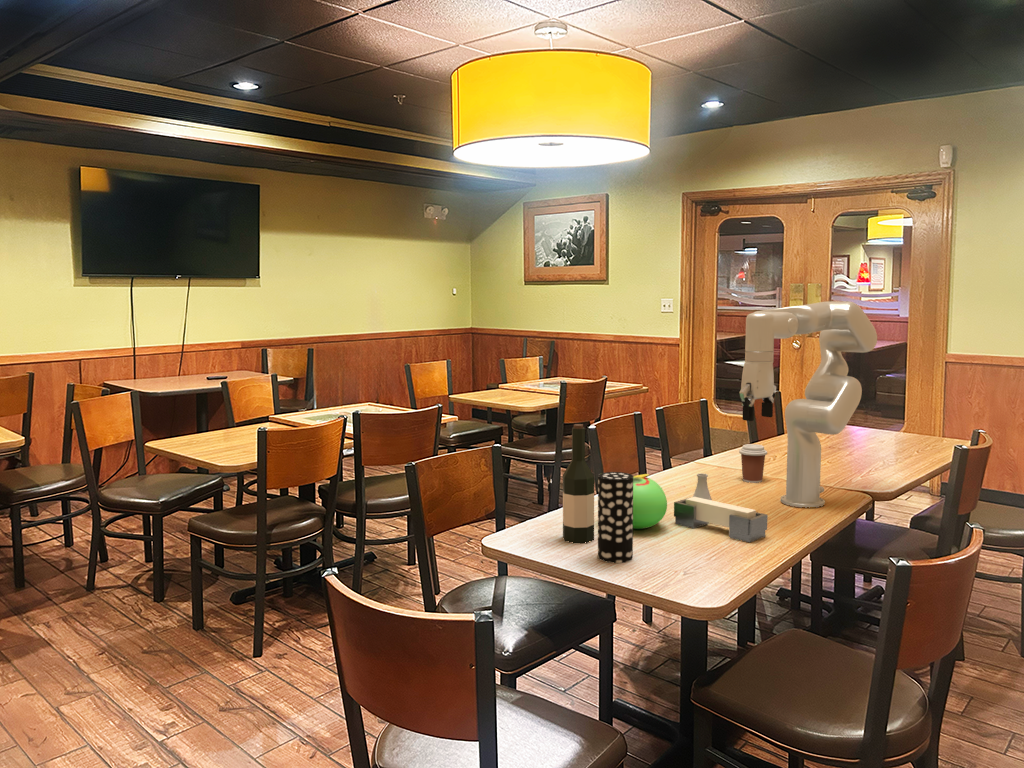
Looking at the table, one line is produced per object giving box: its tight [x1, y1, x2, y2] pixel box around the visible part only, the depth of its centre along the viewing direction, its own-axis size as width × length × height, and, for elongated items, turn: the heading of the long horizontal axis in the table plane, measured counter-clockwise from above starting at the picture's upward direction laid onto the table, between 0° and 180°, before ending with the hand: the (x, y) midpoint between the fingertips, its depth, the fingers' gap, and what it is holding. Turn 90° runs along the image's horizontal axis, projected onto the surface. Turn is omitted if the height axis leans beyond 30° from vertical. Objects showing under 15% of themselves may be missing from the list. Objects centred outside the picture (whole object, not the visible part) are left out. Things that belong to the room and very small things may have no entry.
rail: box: [685, 496, 757, 528], centre depth 207 cm, size 4×19×5 cm, turn 42°
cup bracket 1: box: [673, 497, 709, 529], centre depth 214 cm, size 8×6×6 cm
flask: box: [692, 473, 713, 501], centre depth 230 cm, size 7×7×10 cm
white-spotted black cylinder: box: [597, 471, 634, 564], centre depth 185 cm, size 8×8×20 cm
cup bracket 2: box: [728, 511, 769, 543], centre depth 201 cm, size 8×6×6 cm
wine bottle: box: [562, 423, 595, 544], centre depth 199 cm, size 8×8×30 cm
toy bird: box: [633, 473, 668, 530], centre depth 211 cm, size 18×17×15 cm
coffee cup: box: [738, 443, 768, 484], centre depth 263 cm, size 9×9×12 cm
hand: (757, 418), depth 216 cm, fingers open, 9 cm apart
